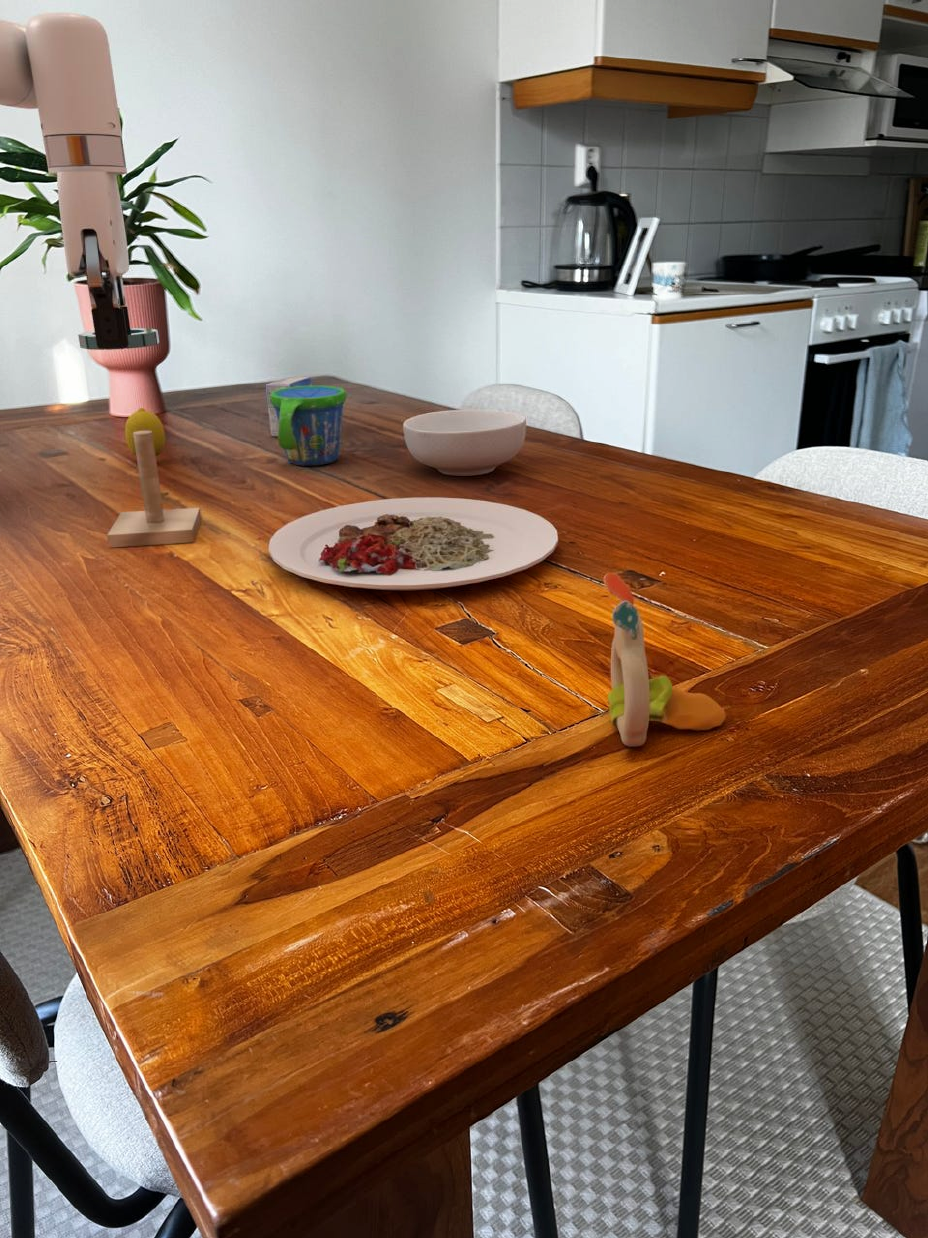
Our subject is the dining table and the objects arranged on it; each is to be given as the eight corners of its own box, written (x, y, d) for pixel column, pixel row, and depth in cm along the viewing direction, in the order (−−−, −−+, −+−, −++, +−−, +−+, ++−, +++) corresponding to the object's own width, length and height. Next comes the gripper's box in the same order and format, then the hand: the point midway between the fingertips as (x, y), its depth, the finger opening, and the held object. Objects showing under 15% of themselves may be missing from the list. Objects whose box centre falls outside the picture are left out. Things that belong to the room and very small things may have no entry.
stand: (109, 547, 105) (91, 442, 100) (122, 524, 113) (107, 426, 109) (193, 542, 106) (180, 438, 102) (201, 519, 114) (189, 422, 110)
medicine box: (294, 438, 157) (289, 384, 154) (270, 436, 158) (265, 383, 155) (316, 428, 164) (312, 376, 160) (292, 427, 165) (287, 376, 162)
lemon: (122, 466, 141) (113, 410, 138) (142, 457, 146) (134, 404, 143) (156, 467, 139) (148, 411, 136) (175, 458, 144) (168, 405, 141)
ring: (75, 351, 103) (72, 337, 102) (88, 342, 110) (86, 330, 110) (154, 347, 104) (152, 334, 104) (162, 339, 112) (160, 326, 111)
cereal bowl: (483, 450, 146) (482, 403, 143) (550, 472, 133) (550, 420, 130) (383, 466, 137) (381, 417, 135) (445, 491, 124) (443, 436, 122)
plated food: (587, 524, 110) (588, 495, 108) (507, 620, 84) (507, 584, 82) (349, 504, 119) (347, 477, 118) (212, 585, 93) (207, 552, 92)
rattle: (721, 771, 60) (738, 600, 56) (591, 755, 62) (597, 589, 58) (725, 716, 67) (740, 559, 63) (607, 703, 69) (613, 551, 65)
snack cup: (315, 476, 133) (309, 401, 129) (251, 470, 137) (244, 397, 133) (371, 453, 146) (367, 384, 142) (311, 447, 150) (306, 381, 146)
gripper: (63, 163, 104) (92, 340, 111) (27, 153, 90) (63, 357, 97) (135, 162, 105) (160, 337, 112) (111, 152, 91) (141, 353, 98)
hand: (115, 345), depth 104 cm, fingers closed on ring, 1 cm apart
